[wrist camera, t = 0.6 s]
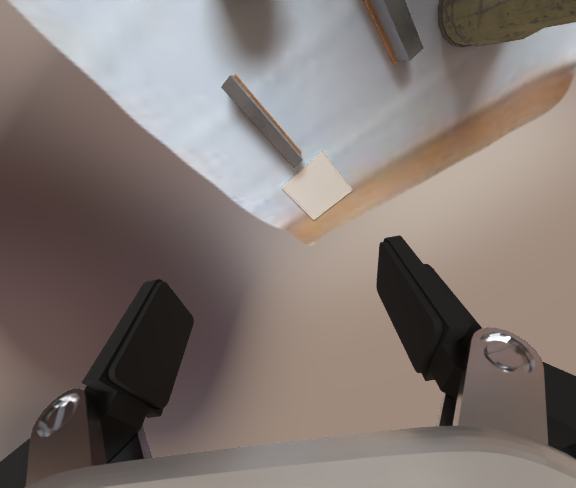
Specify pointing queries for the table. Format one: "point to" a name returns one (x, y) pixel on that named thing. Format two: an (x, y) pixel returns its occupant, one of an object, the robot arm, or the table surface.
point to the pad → (317, 186)
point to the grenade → (500, 19)
